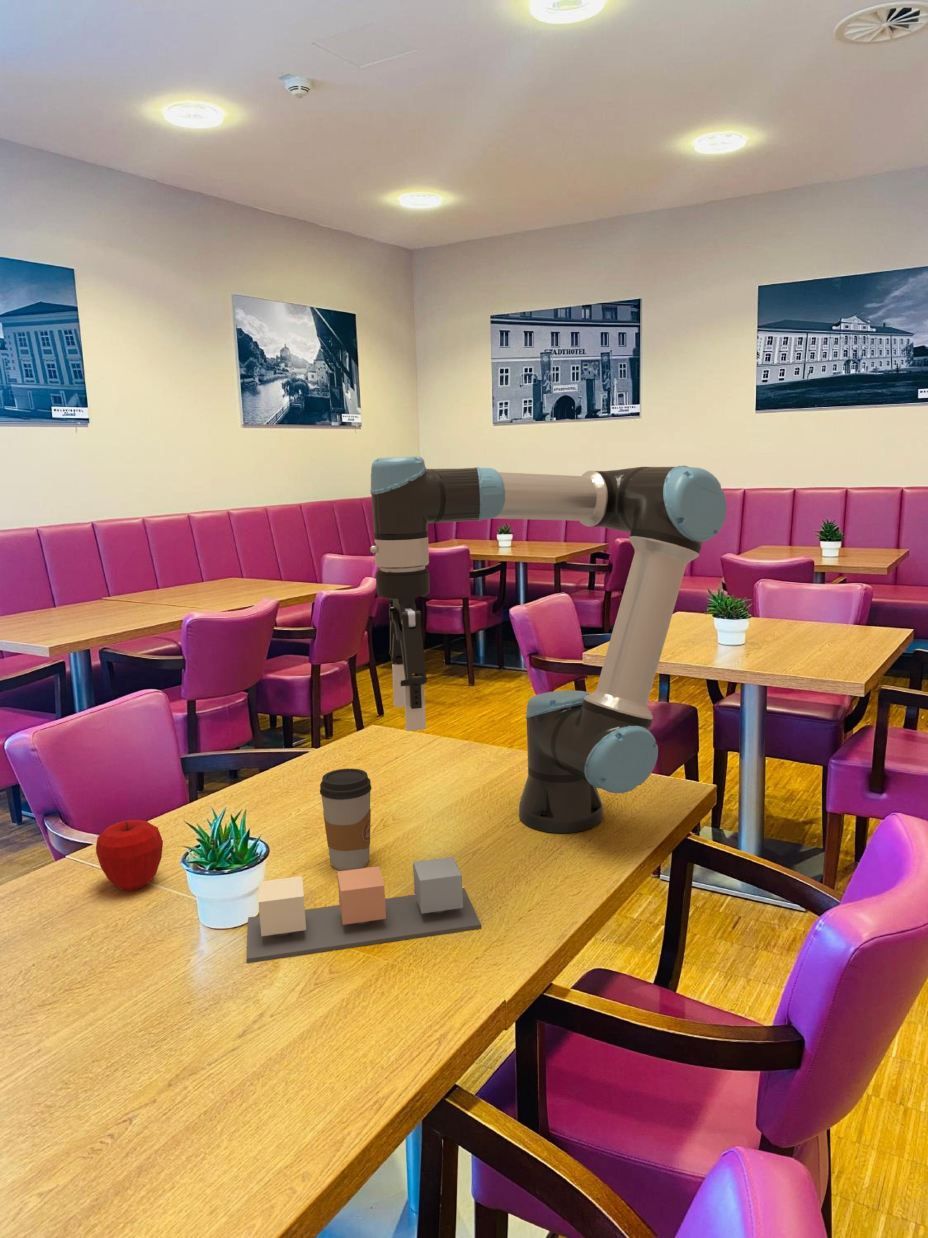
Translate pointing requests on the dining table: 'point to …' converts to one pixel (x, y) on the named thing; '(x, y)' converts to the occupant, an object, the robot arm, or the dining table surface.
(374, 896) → the block terracotta
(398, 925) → the strip
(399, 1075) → the dining table surface
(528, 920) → the dining table surface
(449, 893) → the block slate
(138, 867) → the apple
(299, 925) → the block cream
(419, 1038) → the dining table surface
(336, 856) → the coffee cup
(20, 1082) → the dining table surface
